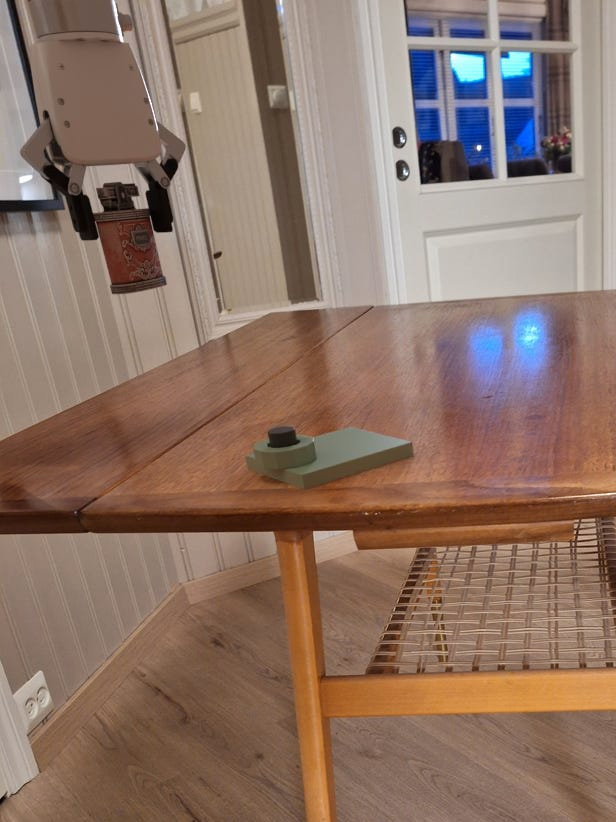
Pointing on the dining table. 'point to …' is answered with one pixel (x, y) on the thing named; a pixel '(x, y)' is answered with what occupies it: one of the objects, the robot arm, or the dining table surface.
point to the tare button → (282, 437)
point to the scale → (327, 456)
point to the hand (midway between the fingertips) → (127, 234)
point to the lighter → (127, 240)
